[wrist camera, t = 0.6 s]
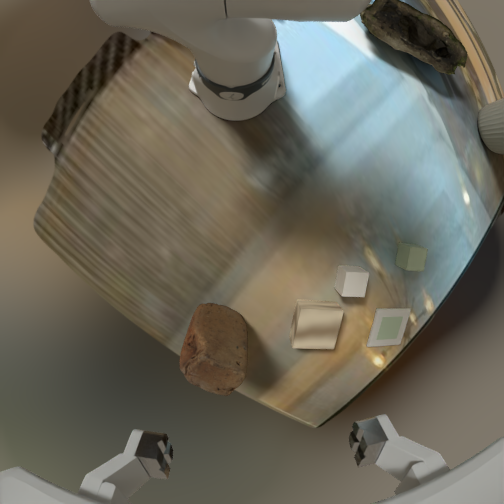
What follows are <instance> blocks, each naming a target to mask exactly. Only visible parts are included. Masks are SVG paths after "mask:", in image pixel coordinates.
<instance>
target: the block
mask: <svg viewBox="0 0 504 504" xmlns="http://www.w3.org/2000/svg"><path fill="white" fill-rule="evenodd" d="M247 361H248V333H247V325H246V323H245V322H244V320H243V319H242V316H241V315H240V314H239V313H238V312H236V311H235V310H233V309H231V308H229V307H226V306H223V305H218V304H214V303H207V304H201V305H199V306H198V307H197V309H196V311H195V312H194V315H193V317H192V319H191V322H190V325H189V328H188V331H187V334H186V337H185V340H184V344H183V347H182V351H181V355H180V369H181V371H182V372H183V373H184V375H185V377H186V379H187V380H188V381H189V382H190V383H192V384H193V385H195V386H199V387H200V388H202V389H204V390H206V391H208V392H212V393H215V394H219V395H224V396H228V395H230V394H231V393H232V391H234V389H235V388H237V387H238V386H239V385H240V384H242V382H243V380H244V379H245V376H246V371H247Z"/></svg>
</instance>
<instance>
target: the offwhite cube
mask: <svg viewBox="0 0 504 504" xmlns="http://www.w3.org/2000/svg"><path fill="white" fill-rule="evenodd" d="M368 277H369V273H368V272H367V271H366V270H364V269H363V268H361V267H360V266H346V265H338V270H337V276H336V282H335V287H334V288H335V289H336V290H337V291H338V293H339V294H340V295H341V296H344V297H365V292H366V287H367V282H368Z"/></svg>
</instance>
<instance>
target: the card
mask: <svg viewBox="0 0 504 504" xmlns="http://www.w3.org/2000/svg"><path fill="white" fill-rule="evenodd" d="M410 311H411V308H376V312H375V316H374V320H373V324H372V327H371V331H370V335H369V338H368V342H367V345H366V346H367V347H375V346H389V345H400V343H401V340H402V337H403V334H404V331H405V328H406V324H407V321H408V318H409V314H410Z"/></svg>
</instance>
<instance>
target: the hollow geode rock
mask: <svg viewBox="0 0 504 504" xmlns="http://www.w3.org/2000/svg"><path fill="white" fill-rule="evenodd" d="M360 16H361V18H362V23H363V24H365V26H366V27H367V28H368V30H369V31H370V33H371V34H373V35H374V36H375V37H377V38H379V39H380V40H382V41H384V42H386V43H387V44H388V45H390V46H392V47H393V48H394V49H395V50H401V51H403V52H407V53H409V54H411V55H413V56H414V57H416V58H418V59H419V60H421V61H423V62H425V63H428V64H430V65H432V66H433V67H434V69H435V70H437V71H438V72H441V73H445V74H448V75H450V74H455V72H454V71H455V69H456V68H457V66H461V65H462V66H463V67H465V63H466V60H467V52H466V50H465V48H464V46H463V45H462V43H461V42H460V41H459V40H457V39H456V37H455V36H454V35H453V33H452V31H451V30H450V29H449V28H448V27H447V26H446V25H444V24H443V23H442V22H441V21H439V20H438V19H436V18H434V17H432V16H430V15H427V14H424V13H421V12H420V11H418V10H417V9H415V8H413V7H412V6H410V5H409V4H407V3H404V2H401V1H399V0H375V1H374V3H373V4H369V5H368V6H367V7H366V9H365V10H364V11H363V12H362V13H360Z"/></svg>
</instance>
